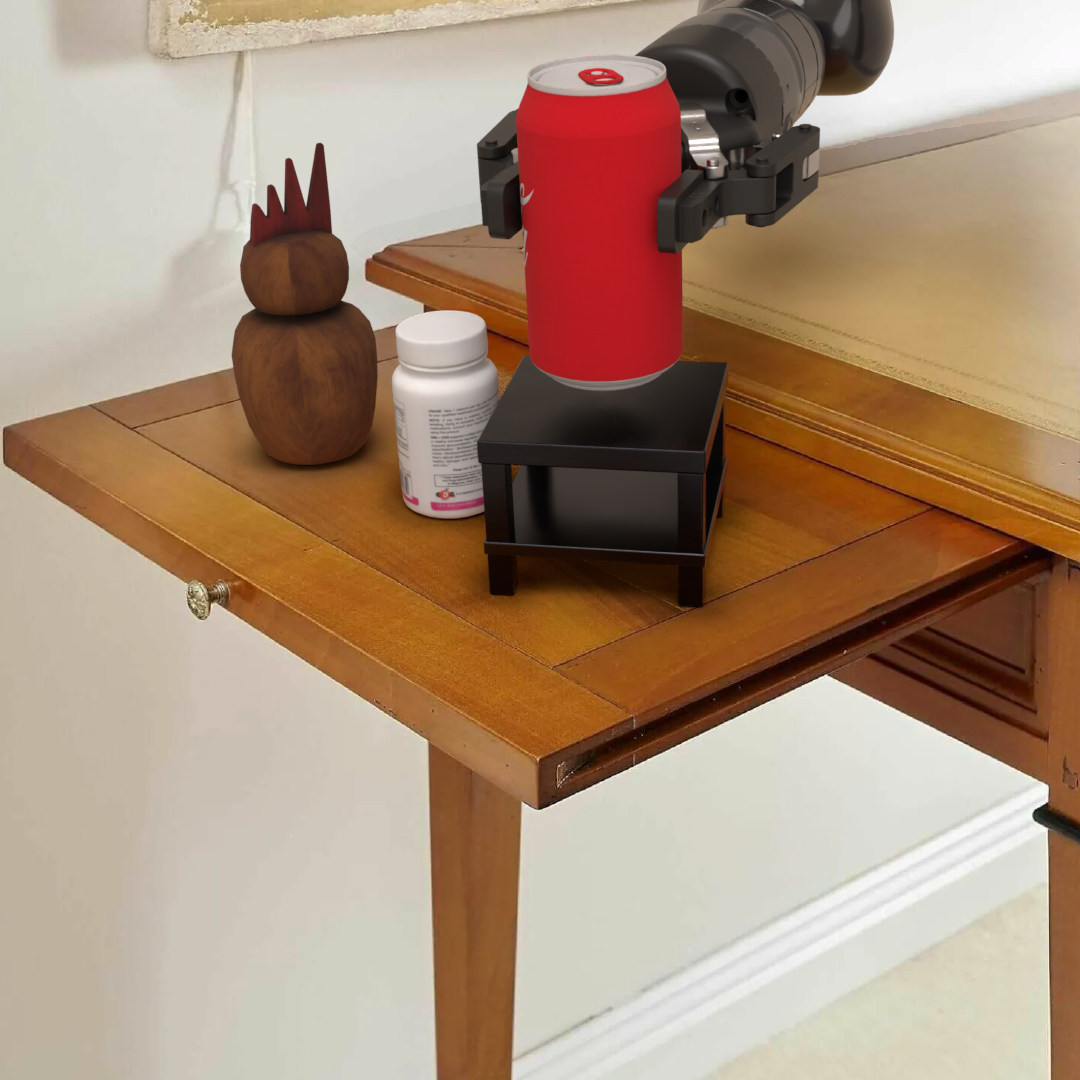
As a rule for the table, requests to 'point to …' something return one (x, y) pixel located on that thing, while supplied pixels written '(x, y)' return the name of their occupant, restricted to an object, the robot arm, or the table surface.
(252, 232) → the wooden figurine
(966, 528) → the table surface
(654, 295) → the beverage can
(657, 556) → the side table
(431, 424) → the pill bottle
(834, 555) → the table surface
